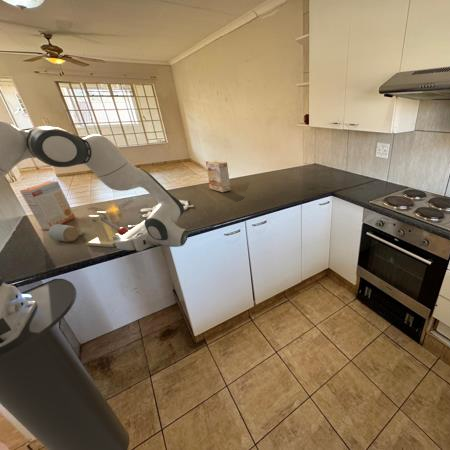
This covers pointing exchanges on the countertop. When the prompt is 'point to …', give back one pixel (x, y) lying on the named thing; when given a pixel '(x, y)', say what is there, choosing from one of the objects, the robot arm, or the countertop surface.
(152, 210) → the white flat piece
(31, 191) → the cracker box
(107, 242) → the bracket
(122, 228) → the lever
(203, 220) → the countertop surface
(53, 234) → the ceramic mug
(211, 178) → the coffeecake box
